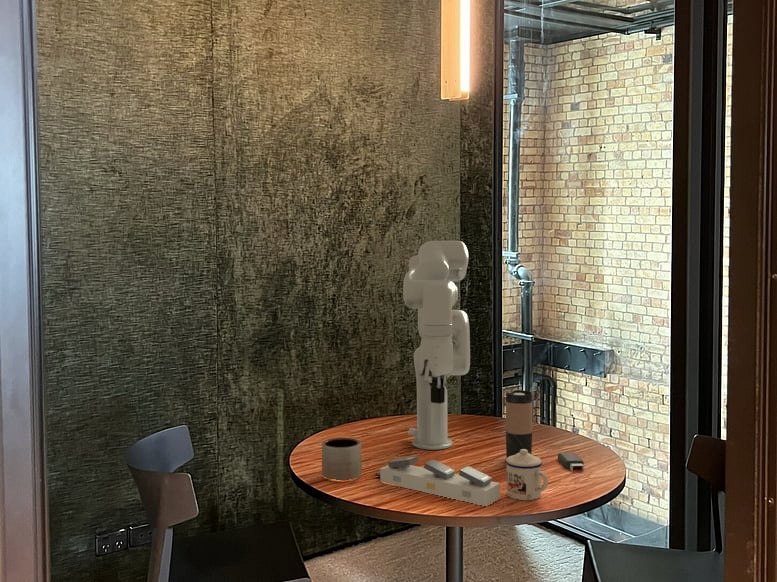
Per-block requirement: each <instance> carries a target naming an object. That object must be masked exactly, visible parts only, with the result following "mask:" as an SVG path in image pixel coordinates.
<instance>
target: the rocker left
mask: <svg viewBox="0 0 777 582" xmlns="http://www.w3.org/2000/svg"><path fill="white" fill-rule="evenodd" d="M418 462H419V458H418V455H416V456H409V457H400V458H395V459H393V460H391V461H388V462H387V463H388V464H387V465H389V468H390V467H398V466H407V465H414V464H416V463H418Z"/></svg>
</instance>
